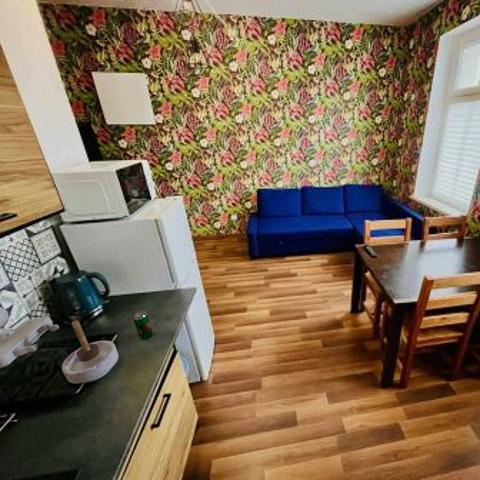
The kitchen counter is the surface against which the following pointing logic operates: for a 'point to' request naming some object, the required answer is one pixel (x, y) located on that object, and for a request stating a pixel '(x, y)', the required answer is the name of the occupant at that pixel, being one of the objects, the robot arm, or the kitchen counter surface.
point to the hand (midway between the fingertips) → (47, 337)
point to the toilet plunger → (84, 345)
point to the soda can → (143, 325)
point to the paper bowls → (90, 364)
